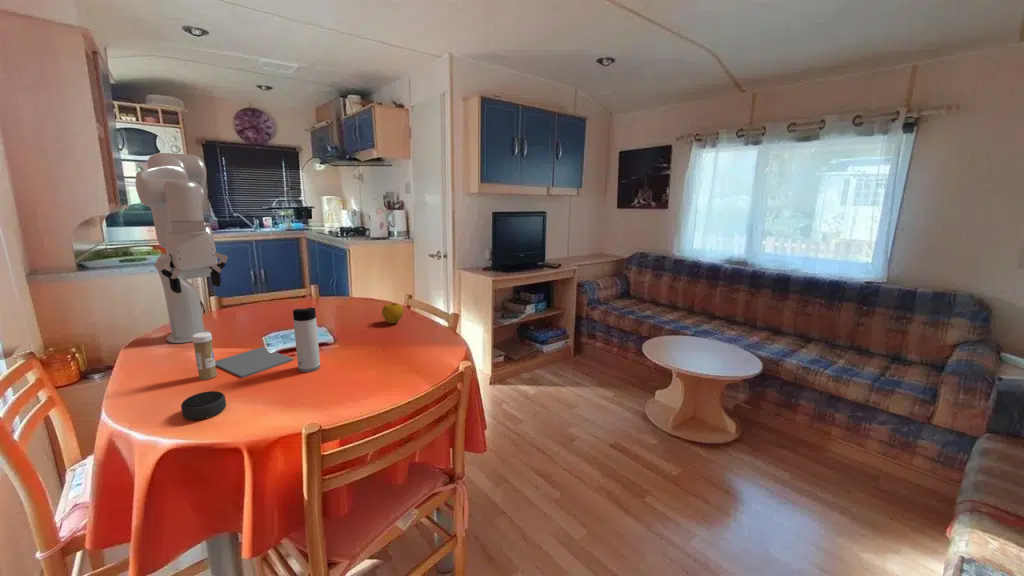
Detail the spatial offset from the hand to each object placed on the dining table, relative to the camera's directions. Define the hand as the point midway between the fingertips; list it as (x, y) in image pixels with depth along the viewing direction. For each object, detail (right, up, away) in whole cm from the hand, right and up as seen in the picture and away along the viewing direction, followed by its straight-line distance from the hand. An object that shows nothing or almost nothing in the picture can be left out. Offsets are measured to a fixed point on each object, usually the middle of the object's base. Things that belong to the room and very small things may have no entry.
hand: (197, 289), depth 115 cm
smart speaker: (+11, -31, -11) cm, 35 cm away
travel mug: (+24, -25, +15) cm, 38 cm away
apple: (+37, -15, +61) cm, 73 cm away
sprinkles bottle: (-3, -26, +8) cm, 28 cm away
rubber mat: (+4, -24, +18) cm, 30 cm away
